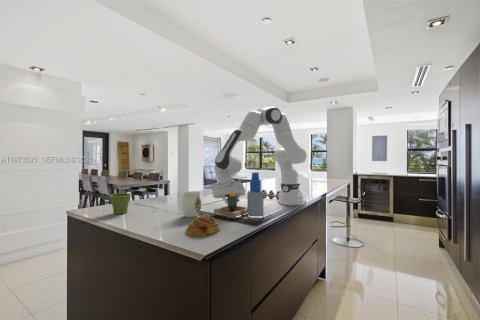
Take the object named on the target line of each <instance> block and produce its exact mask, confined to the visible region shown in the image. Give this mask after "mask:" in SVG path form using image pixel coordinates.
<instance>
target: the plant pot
mask: <svg viewBox="0 0 480 320" xmlns="http://www.w3.org/2000/svg"><path fill="white" fill-rule="evenodd" d="M131 195H132V193H128V192H125V193H124V192H121V193H113V194H112V193H111V194H109V195H108V196H109V197H110V201H111V207H112V211H113V215H118V216H119V215H124V214H127V213H128V208H129V202H130V198H131Z"/></svg>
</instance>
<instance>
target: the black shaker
mask: <svg viewBox="0 0 480 320" xmlns="http://www.w3.org/2000/svg"><path fill="white" fill-rule="evenodd" d="M226 199H228V201H229V202H228V203H227V206H228V212H236V211H237V206H238V202H237V195H236V196H229V195H227V197H226Z"/></svg>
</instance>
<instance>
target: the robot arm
mask: <svg viewBox="0 0 480 320" xmlns="http://www.w3.org/2000/svg"><path fill="white" fill-rule="evenodd" d="M263 125H265V126H269V125H271V126H272V128H273V133H274V135H275V140H276V142H277V144H278V145H279V146H281V148H278V149H276V150H275V151H274V153H273V159H274V161H275V162H276V164H278V166H279V168H280V174H281V176H280V177H281V183H280V190H279V191H278V195H279V197H278V200H277V203H278V204H281V205H284V206H303V205H304V204H305V203H306V202H307V199H304V194H303V192H302V191H301V189H300V186H301V183H298V182H299V181H298V171H297V170H296V168H294V166H293V165H298V164H302V163H304V162H306V160H307V156H308V154H307V152H306V150H305V149H304V148H303V147H301V146H300V145H299V144H298V143H297V142H296V140H295V138H294V136H293V132H292V130H291V126H290V122H289V120H288V118H287V116H286V114H285V113H282V112H281V110H280V109H279V108H278V107H276V106H267V107H264V108H259V109H257V110H250V111H248V113H246V115H245V117H244V118H243V120H242V122H241V125H240V126H239V127H238V128H237V129H235V130H233V132H232V133H231V135H229V137H228V139H227V141H226V142H225V143H224V145H223V147H222V149H221V150H220V151H219V152H218V153H217V155H216V156H215V158H214V159H215V160H214V162H215V164H214V168H213V169H214V174H215V177H216V178H217V182H218V183H212V184H211V185H210V189H211V190H212V197H213V198H214V199H221V200H223V201H224V203H225V204H228V202H229V201H228V199H227V195H229V194H230V193H231V192H235V193H236V195H237V203H240V197H243V196H245V194H246V188H245V186H244V185H243V183H241V182H242V181H241V179H240V178H238V177H234V176H235V175H236V174H238V173H239V172H241V170H242V167H243V166H242V161H241V160H240V159H238V158H236V157H234V156H232V155H231V153H232V152H233V150H234V149H235V147H236V145H237V144H238V143H239V142H241V141H242V142H249V141H251V140H252V141H253V139H255V137H256V135H257V133H258V132H259V131H258V130H259V128H260V126H263Z"/></svg>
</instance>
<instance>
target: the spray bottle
mask: <svg viewBox="0 0 480 320" xmlns="http://www.w3.org/2000/svg"><path fill="white" fill-rule="evenodd" d="M259 175H260V173H259V172H257V171H254V172H253V171H252V172H251V178H250V180H249V190H247V195H246V197H247V198H246V199H247V202H246V203H247V206H246V207H247V208H248V215H249V216H263V217H264V191H263V190H262V189H261V187H262V186H261V185H262V181H261V179H260V176H259ZM248 215H247V216H248Z"/></svg>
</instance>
